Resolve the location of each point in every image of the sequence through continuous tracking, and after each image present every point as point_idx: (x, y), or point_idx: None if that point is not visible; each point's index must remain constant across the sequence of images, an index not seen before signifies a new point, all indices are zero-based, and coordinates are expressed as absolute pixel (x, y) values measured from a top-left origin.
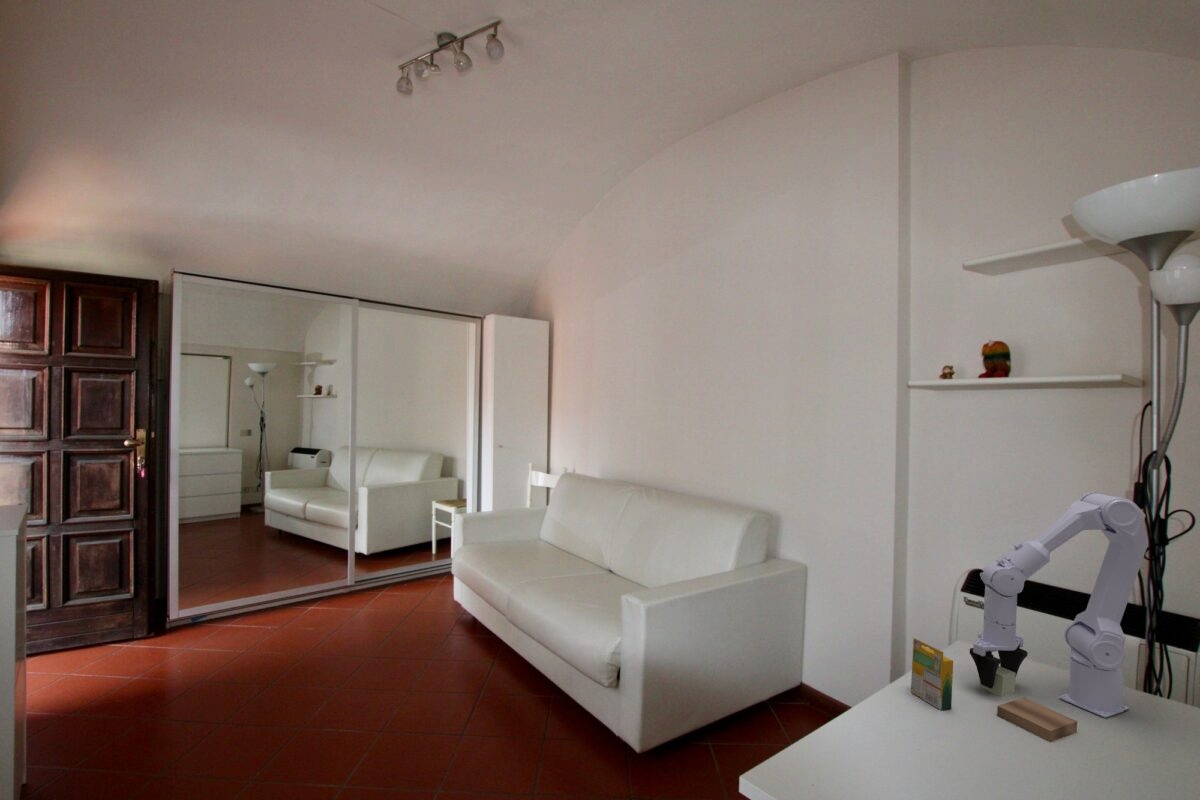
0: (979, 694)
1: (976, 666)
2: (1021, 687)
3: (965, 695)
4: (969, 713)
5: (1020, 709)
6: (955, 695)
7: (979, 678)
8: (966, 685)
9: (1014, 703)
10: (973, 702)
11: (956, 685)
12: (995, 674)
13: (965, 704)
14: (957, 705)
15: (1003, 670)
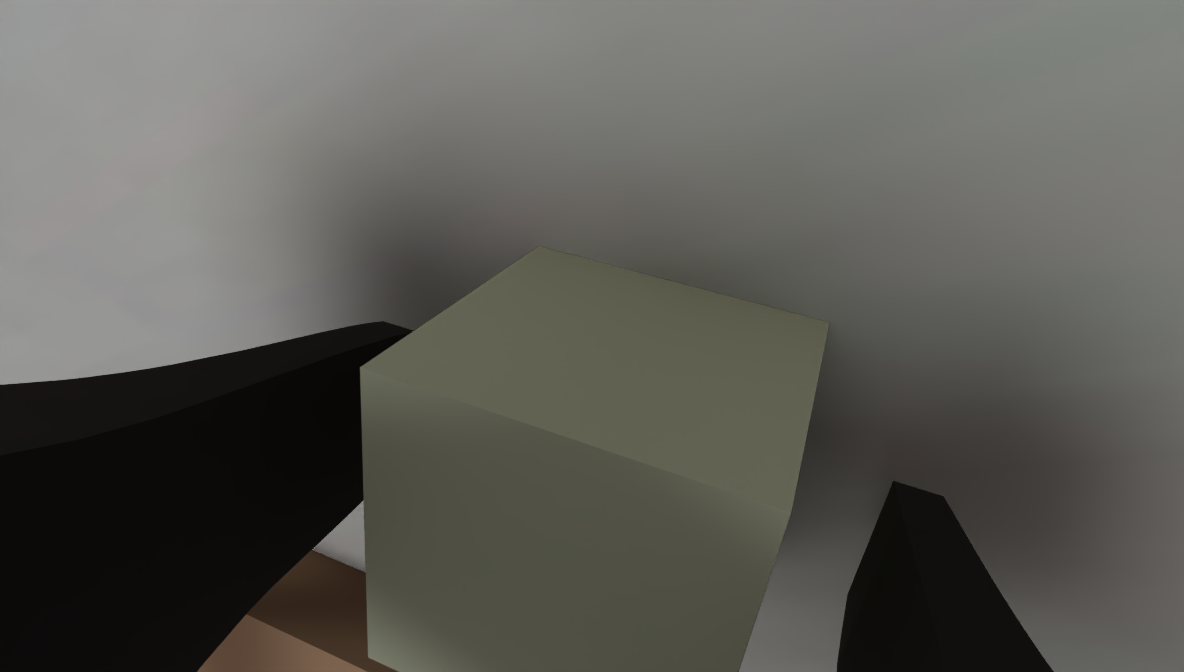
0: (344, 307)
1: (121, 379)
2: (1078, 614)
3: (193, 224)
4: (13, 350)
5: (209, 668)
6: (103, 164)
7: (332, 330)
8: (407, 127)
9: (248, 637)
10: (160, 319)
11: (287, 53)
12: (263, 595)
13: (74, 287)
14: (5, 251)
15: (597, 667)
